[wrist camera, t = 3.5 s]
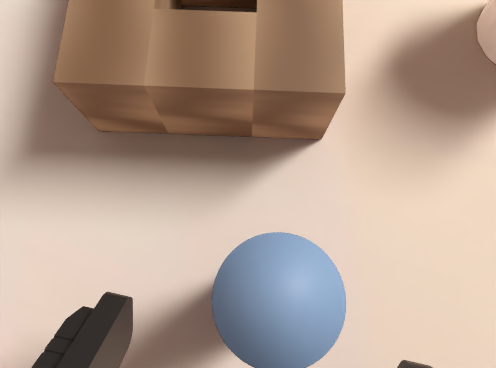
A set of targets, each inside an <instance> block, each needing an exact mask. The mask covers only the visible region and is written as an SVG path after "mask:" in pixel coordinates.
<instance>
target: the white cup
mask: <svg viewBox="0 0 496 368" xmlns="http://www.w3.org/2000/svg"><path fill="white" fill-rule="evenodd" d="M476 27H477V38H478V42H479V44H480V46H481V48H482V49H483V51H484V53H485V55H486V56H487V57H488V58H489V59H490V60H491V61H492V62H493V63H495V64H496V0H489V2H488V3H487V5H486V6H485V7H484V9H483V10H482V12H481V15H480V17H479V19H478V22H477V24H476Z"/></svg>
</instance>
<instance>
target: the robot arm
mask: <svg viewBox="0 0 496 368" xmlns="http://www.w3.org/2000/svg"><path fill="white" fill-rule="evenodd" d="M132 331H133V300H132V297H128V296H124V295H120V294H115V293H111V292H106V293H105V294H104V295H103V296H102V297H101V299H100V300H99V302H98V304H97V305H96V307H95V308H94V309H93V308H89V307H84V306H83V307H82V308H80V309H79V310H77V311H76V312H75V313H73V314H72V315H71V316H69V317H68V318H67V319H66V320H65V321H64V323H63V324H62V326H61V327H60V328H59V330H58V331H57V333H56V334H55V336H54V338H53V339H52V340H51V341H50V342H49V344H48V345H47V347H46V348H45V351H44V353H42V354H41V355H40V357H39V358H38V359H37V361H36V362H35V364H34V365H33V366H32V368H119V366H120V364H121V362H122V360H123V358H124V356H125V354H126V352H127V350H128V347H129V344H130V341H131V337H132ZM397 368H432V367H431V366H428V365H424V364H419V363H415V362H411V361H406V360H403V361H401V362H400V364H399V366H398V367H397Z"/></svg>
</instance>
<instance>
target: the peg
mask: <svg viewBox="0 0 496 368" xmlns="http://www.w3.org/2000/svg"><path fill="white" fill-rule="evenodd" d="M212 310H213V316H214V320H215V324H216V327H217V329H218V332H219V334H220V336H221V337H222V339H223V341H224V342H225V344H226V345H227V346H228V348H229V349H230V350H231V351H232V352H233V353H234V354H235V355H236V356H237V357H238V358H240V359H241V360H242V361H243V362H245V363H247V364H248V365H250V366H252V367H255V368H306V367H308V366H310V365H312V364H314V363H315V362H317V361H318V360H320V359H321V358H322V357H323V356H324V355H325V354H326V353H327V352H328V351H329V350H330V349H331V347H332V346H333V345H334V343H335V342H336V340H337V338H338V336H339V334H340V332H341V330H342V326H343V323H344V319H345V313H346V296H345V290H344V285H343V282H342V279H341V276H340V274H339V272H338V270H337V268H336V266H335V265H334V263H333V262H332V260H331V259H330V258H329V257H328V255H327V254H326V253H325V252H324V251H323V250H322V249H320V248H319V247H318V246H317V245H315V244H314V243H312V242H311V241H309V240H307V239H305V238H303V237H300V236H297V235H293V234H289V233H281V232H277V233H266V234H262V235H258V236H255V237H253V238H251V239H248V240H247V241H245V242H243V243H242V244H240V245H239V246H238V247H236V248H235V249H234V250H233V251H232V252H231V253H230V254H229V255H228V256H227V258H226V259H225V261H224V262H223V263H222V265H221V267H220V269H219V271H218V273H217V276H216V278H215V282H214V286H213V292H212Z"/></svg>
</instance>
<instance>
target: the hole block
mask: <svg viewBox="0 0 496 368" xmlns="http://www.w3.org/2000/svg"><path fill="white" fill-rule="evenodd" d="M182 5H189V6H216V7H244V8H257V12H232V11H204V10H181V6H182ZM53 83H54V84H55V85H56V86H57V87H58V88H59V89H60V90H61V91H62V92H63V93H64V95H65V96H66V97H67V98H68V99H69V100H70V101H71V102H72V103H73V104H74V105H75V106H76V107H77V108H78V109H79V110H80V111H81V112H82V113H83V114H84V116H85V117H86V118H87V119H88V120H89V121H90V122H91V123H92V124H93V125H94V126H95V127H96V128H97V129H98V130H99V131H116V132H142V133H168V134H194V135H220V136H246V137H272V138H298V139H322V137H323V135H324V134H325V132H326V130H327V128H328V126H329V124H330V122H331V120H332V118H333V116H334V114H335V112H336V110H337V108H338V107H339V105H340V103H341V101H342V99H343V97H344V95H345V66H344V35H343V5H342V0H69V2H68V7H67V12H66V17H65V23H64V28H63V33H62V38H61V43H60V48H59V53H58V58H57V63H56V68H55V73H54V78H53Z"/></svg>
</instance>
